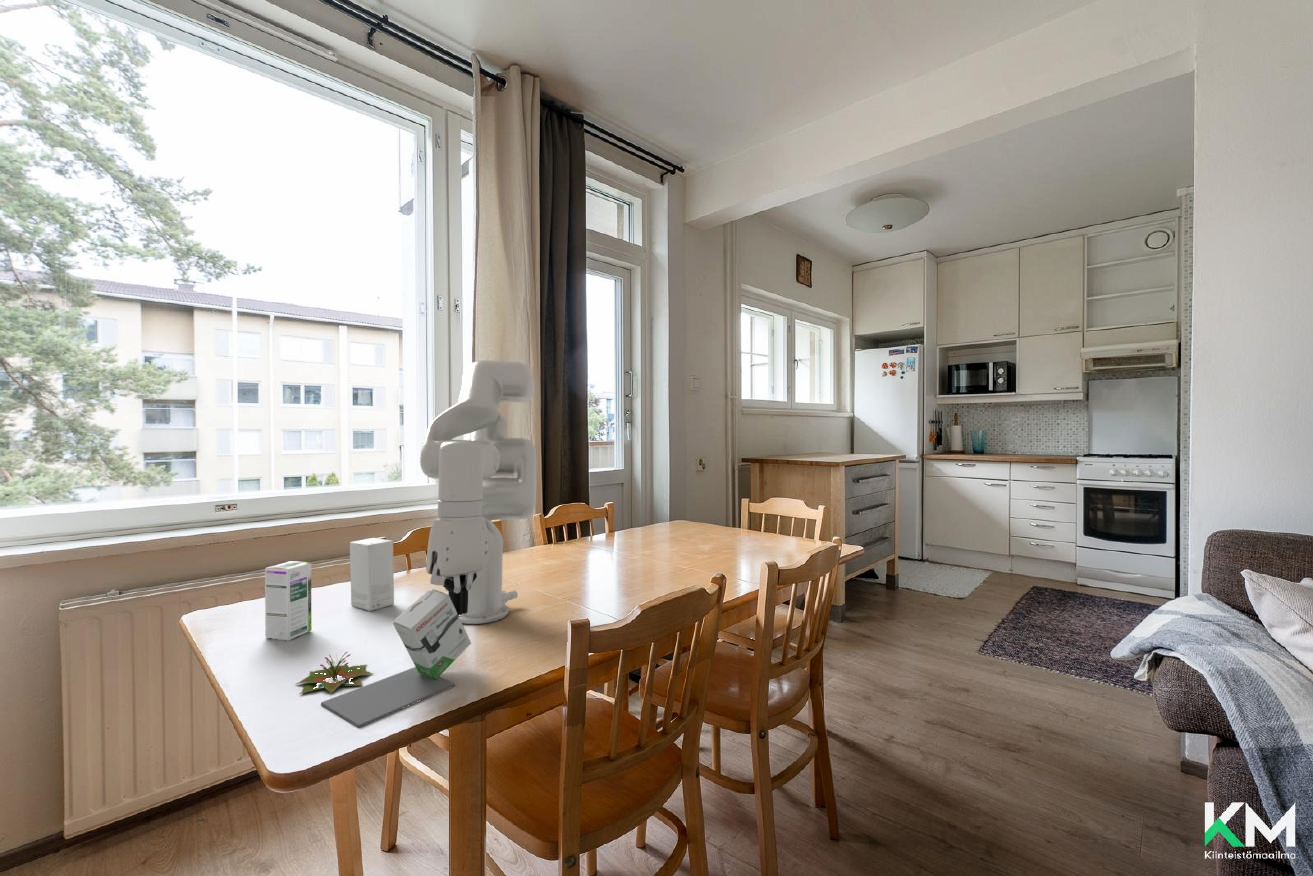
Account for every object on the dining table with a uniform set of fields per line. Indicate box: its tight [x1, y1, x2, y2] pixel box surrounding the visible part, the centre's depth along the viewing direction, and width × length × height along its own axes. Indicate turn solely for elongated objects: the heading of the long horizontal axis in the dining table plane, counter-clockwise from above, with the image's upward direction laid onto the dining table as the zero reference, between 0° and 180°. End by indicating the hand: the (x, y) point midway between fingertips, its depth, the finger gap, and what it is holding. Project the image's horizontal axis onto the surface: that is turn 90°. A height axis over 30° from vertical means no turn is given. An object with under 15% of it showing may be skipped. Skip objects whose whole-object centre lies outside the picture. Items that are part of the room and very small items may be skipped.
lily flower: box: [295, 651, 374, 695], centre depth 94 cm, size 12×12×5 cm
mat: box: [320, 666, 456, 728], centre depth 89 cm, size 16×11×1 cm
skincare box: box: [349, 537, 395, 612], centre depth 132 cm, size 8×7×16 cm
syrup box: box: [264, 560, 312, 642], centre depth 113 cm, size 6×6×14 cm
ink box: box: [392, 588, 472, 679], centre depth 95 cm, size 9×5×12 cm, turn 147°
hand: (458, 612), depth 98 cm, fingers closed
